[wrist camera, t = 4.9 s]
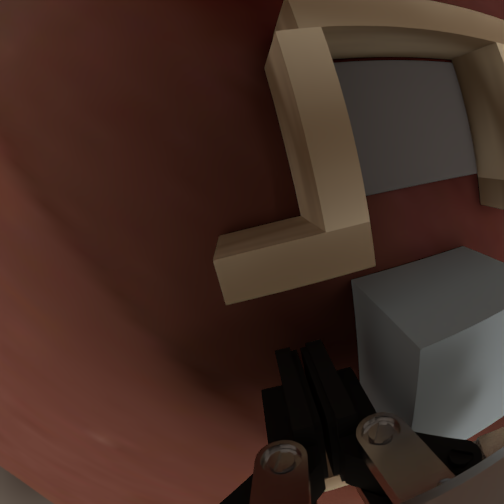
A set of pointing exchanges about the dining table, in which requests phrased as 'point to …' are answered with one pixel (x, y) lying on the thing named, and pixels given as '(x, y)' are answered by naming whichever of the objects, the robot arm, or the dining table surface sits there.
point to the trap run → (341, 136)
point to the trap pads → (406, 122)
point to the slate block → (434, 342)
